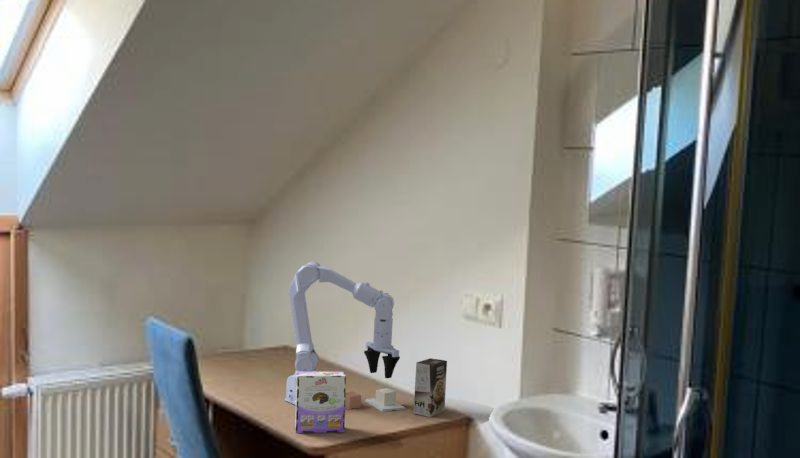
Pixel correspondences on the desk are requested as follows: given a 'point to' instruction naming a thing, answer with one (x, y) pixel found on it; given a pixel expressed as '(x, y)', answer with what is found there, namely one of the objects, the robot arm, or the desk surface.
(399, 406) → the hard drive
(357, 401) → the brown block
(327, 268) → the robot arm
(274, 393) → the desk surface
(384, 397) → the cream block
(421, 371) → the coffee box
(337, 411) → the candy box
